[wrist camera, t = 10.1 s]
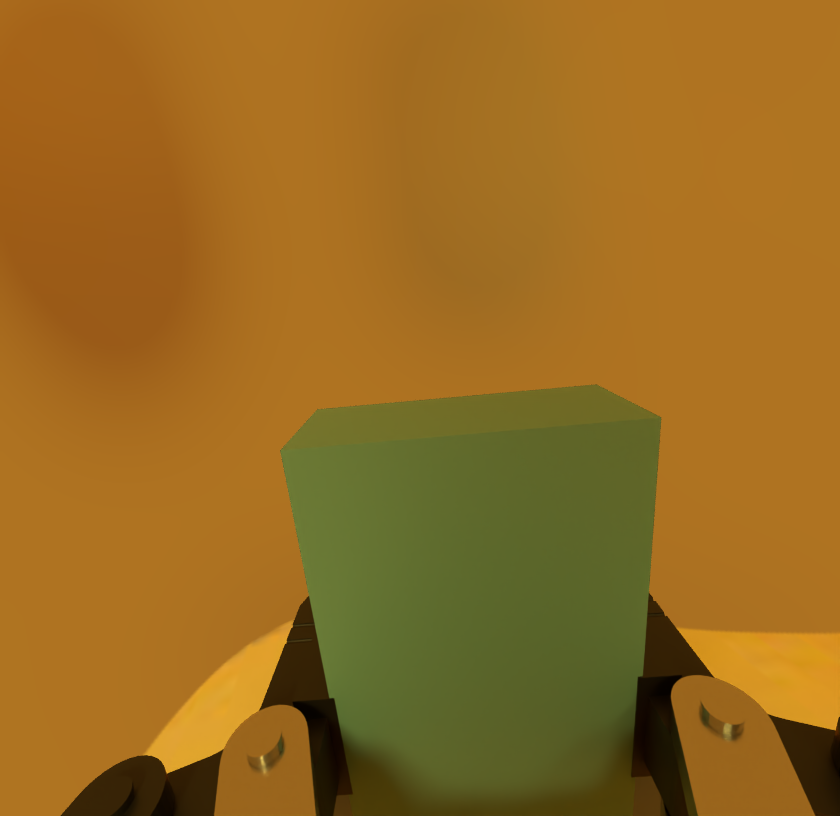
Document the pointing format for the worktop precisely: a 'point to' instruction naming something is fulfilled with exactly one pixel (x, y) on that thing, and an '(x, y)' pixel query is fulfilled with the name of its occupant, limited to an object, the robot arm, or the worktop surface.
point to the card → (481, 596)
